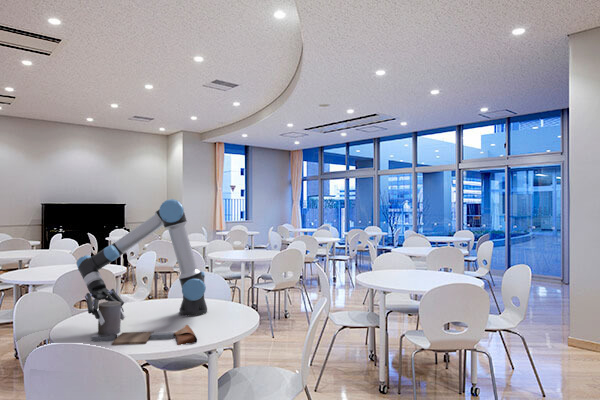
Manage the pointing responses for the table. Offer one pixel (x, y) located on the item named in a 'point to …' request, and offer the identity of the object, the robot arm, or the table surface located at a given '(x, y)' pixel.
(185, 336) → the sunglasses case
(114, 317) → the pillar candle
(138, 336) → the brown wooden square board
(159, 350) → the table surface
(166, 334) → the chain ends
